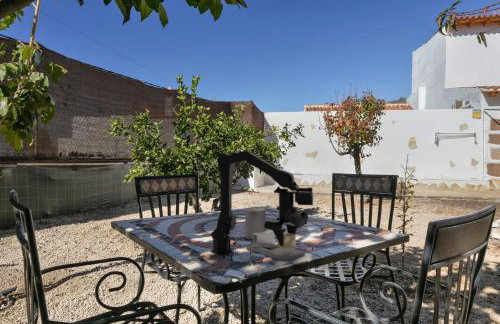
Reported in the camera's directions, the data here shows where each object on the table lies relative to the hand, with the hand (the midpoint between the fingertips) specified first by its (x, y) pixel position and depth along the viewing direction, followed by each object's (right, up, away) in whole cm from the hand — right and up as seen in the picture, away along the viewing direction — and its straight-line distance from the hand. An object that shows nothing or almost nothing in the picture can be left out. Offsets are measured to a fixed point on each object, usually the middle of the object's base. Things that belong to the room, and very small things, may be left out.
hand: (286, 244), depth 140 cm
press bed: (-4, -4, +5) cm, 8 cm away
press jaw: (-9, -2, +10) cm, 13 cm away
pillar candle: (-11, -4, +31) cm, 34 cm away
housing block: (0, -1, 0) cm, 1 cm away
